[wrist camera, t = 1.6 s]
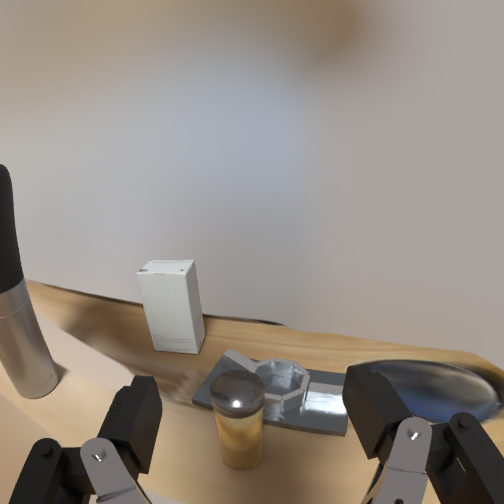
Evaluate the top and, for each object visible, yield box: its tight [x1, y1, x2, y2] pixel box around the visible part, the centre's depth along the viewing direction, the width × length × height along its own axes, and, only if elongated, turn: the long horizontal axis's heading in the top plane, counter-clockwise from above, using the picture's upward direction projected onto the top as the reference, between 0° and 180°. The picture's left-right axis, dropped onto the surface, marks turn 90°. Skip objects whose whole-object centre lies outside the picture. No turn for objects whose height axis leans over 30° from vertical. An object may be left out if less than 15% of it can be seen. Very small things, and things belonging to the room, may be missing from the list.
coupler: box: [210, 370, 265, 470], centre depth 23 cm, size 5×5×12 cm
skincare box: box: [137, 260, 205, 354], centre depth 44 cm, size 8×6×15 cm
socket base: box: [192, 348, 348, 436], centre depth 34 cm, size 20×11×4 cm, turn 71°
